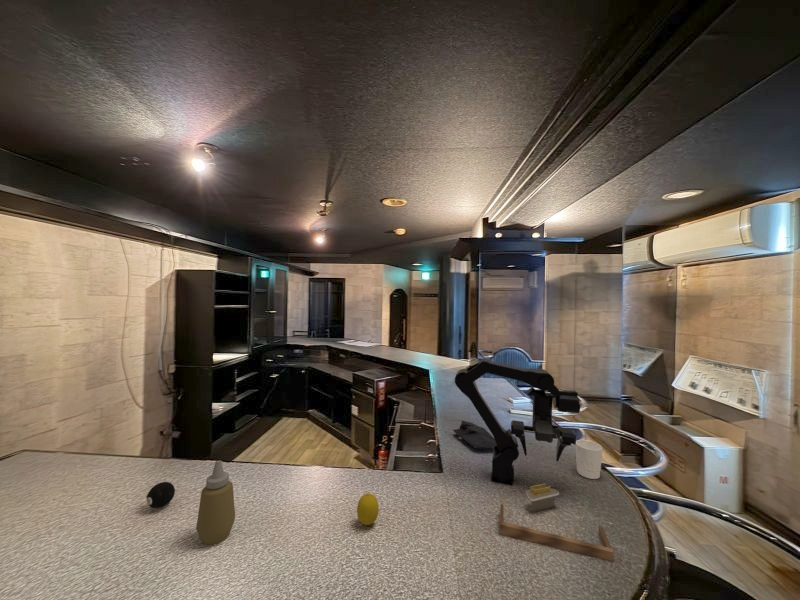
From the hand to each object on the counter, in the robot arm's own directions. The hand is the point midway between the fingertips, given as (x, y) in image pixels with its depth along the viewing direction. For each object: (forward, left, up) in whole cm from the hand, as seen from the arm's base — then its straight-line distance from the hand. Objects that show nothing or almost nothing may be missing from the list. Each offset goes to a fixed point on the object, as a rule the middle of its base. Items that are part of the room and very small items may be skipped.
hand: (541, 458), depth 100 cm
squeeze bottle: (-76, -54, -9) cm, 93 cm away
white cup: (+16, +13, -9) cm, 22 cm away
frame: (0, -24, -8) cm, 25 cm away
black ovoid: (-100, -51, -9) cm, 112 cm away
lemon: (-44, -37, -9) cm, 58 cm away
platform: (-1, -13, -9) cm, 16 cm away
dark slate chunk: (-23, +27, -9) cm, 36 cm away
